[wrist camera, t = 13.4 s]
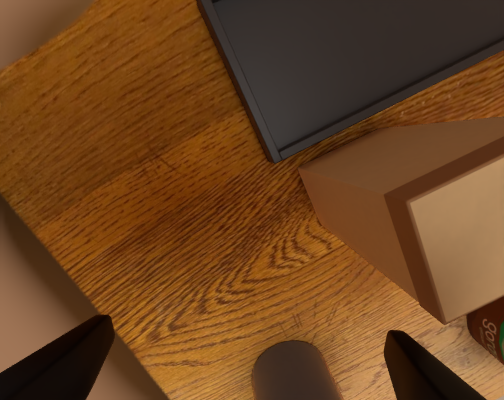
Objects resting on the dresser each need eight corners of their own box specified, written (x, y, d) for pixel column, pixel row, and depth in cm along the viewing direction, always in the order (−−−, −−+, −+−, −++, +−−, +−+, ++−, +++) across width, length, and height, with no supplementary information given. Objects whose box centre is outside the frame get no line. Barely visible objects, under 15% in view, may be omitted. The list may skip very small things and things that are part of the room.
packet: (319, 224, 21) (444, 326, 9) (295, 167, 20) (405, 201, 8) (397, 186, 21) (619, 239, 9) (379, 127, 20) (608, 103, 8)
